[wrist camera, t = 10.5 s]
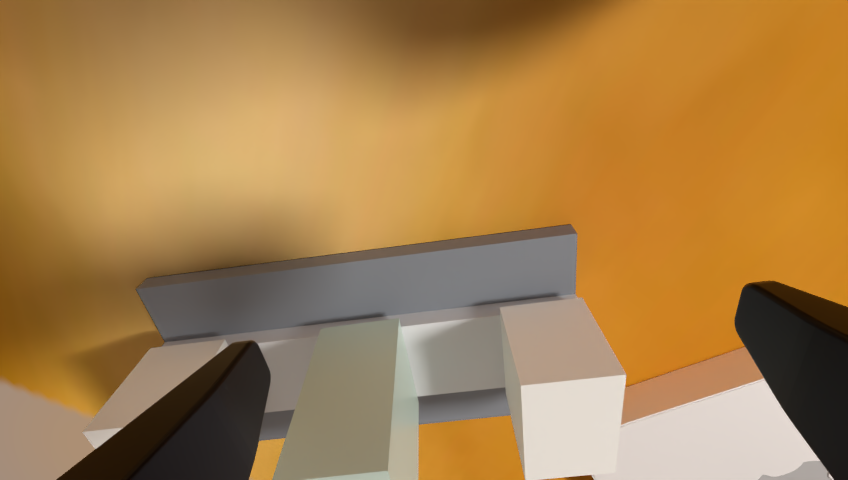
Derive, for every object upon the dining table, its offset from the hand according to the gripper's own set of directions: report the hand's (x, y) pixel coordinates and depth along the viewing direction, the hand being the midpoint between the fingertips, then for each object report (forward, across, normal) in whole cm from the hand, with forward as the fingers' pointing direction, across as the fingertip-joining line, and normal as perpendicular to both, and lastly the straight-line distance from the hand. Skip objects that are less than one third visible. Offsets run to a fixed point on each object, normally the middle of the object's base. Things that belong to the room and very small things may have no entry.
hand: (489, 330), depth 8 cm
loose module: (+10, +6, +11) cm, 16 cm away
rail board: (+12, +6, +11) cm, 17 cm away
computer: (+13, -19, +25) cm, 34 cm away
